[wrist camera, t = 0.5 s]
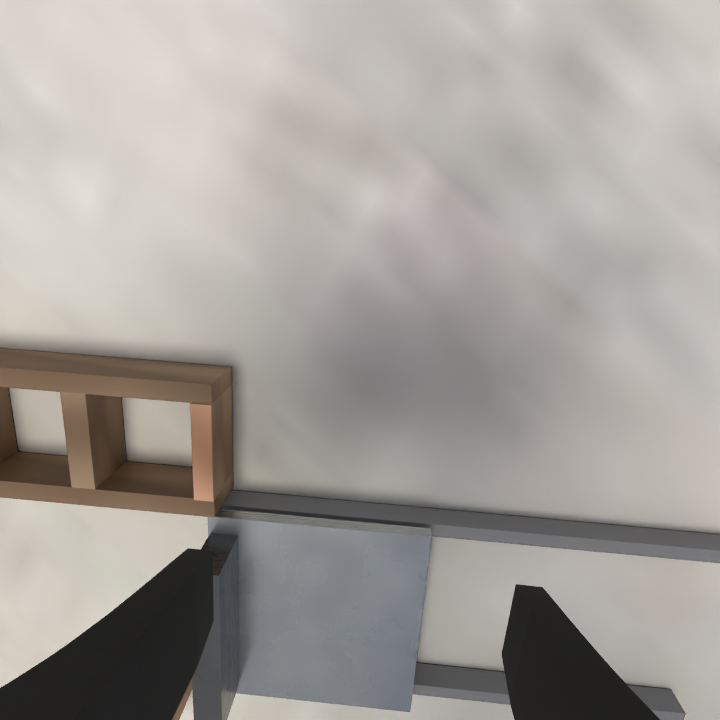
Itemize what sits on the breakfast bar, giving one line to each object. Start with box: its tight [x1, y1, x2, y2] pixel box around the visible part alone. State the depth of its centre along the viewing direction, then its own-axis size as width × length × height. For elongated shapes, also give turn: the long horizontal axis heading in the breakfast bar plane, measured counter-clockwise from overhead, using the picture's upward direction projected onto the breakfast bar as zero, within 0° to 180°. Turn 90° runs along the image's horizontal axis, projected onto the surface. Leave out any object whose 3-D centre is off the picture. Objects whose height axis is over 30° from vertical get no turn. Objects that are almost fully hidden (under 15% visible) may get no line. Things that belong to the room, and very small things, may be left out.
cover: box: [192, 509, 432, 720], centre depth 20 cm, size 10×9×3 cm
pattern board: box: [220, 490, 720, 720], centre depth 22 cm, size 10×22×1 cm, turn 86°
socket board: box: [0, 348, 233, 517], centre depth 20 cm, size 6×11×2 cm, turn 86°
